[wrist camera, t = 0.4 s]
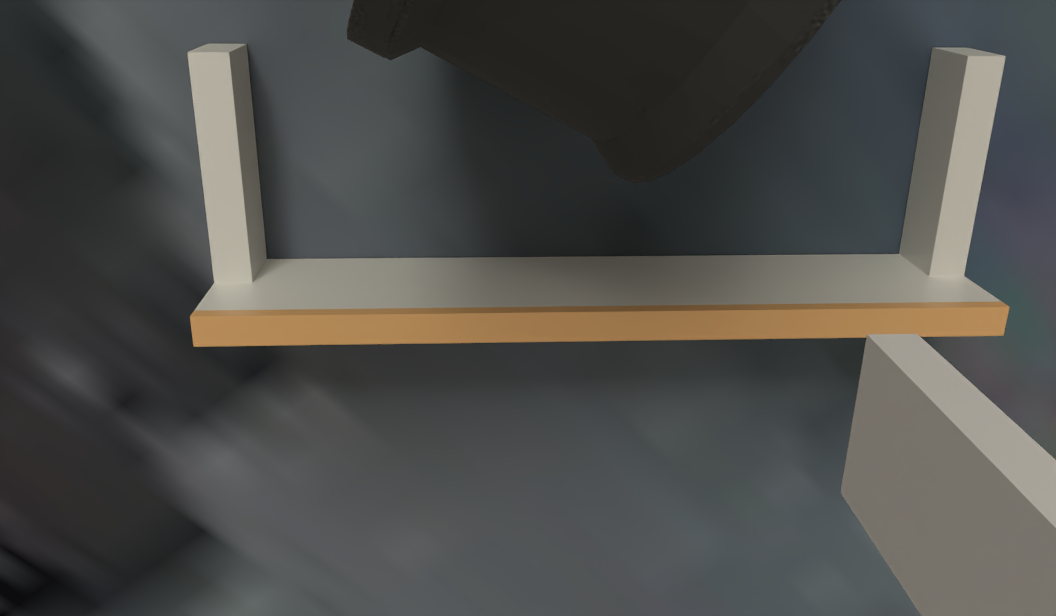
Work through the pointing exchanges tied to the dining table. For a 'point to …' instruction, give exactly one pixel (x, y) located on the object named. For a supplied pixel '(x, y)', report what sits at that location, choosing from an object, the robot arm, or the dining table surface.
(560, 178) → the dining table surface
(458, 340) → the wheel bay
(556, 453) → the dining table surface
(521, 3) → the wheel rim
